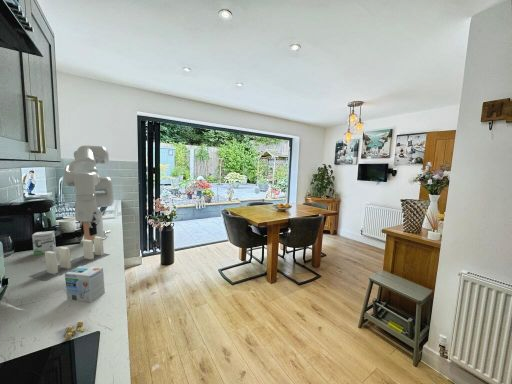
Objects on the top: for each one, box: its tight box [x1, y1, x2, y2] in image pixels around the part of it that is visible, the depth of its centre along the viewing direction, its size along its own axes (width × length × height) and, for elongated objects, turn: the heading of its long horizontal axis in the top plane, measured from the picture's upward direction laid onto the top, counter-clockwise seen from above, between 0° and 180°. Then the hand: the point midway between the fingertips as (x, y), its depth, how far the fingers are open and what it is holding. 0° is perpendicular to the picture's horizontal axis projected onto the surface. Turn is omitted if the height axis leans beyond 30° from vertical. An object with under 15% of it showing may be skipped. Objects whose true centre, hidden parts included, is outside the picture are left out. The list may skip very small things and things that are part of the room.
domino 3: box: [82, 239, 94, 259], centre depth 116 cm, size 2×5×10 cm, turn 72°
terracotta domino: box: [83, 220, 95, 240], centre depth 106 cm, size 2×5×10 cm, turn 72°
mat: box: [27, 251, 111, 282], centre depth 110 cm, size 30×12×1 cm, turn 162°
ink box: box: [31, 230, 57, 256], centre depth 124 cm, size 9×5×12 cm, turn 120°
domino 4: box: [93, 236, 105, 255], centre depth 121 cm, size 2×5×10 cm, turn 72°
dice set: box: [64, 320, 87, 341], centre depth 67 cm, size 5×5×2 cm
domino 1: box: [44, 251, 58, 274], centre depth 101 cm, size 2×5×10 cm, turn 72°
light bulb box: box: [64, 265, 106, 304], centre depth 84 cm, size 11×7×11 cm, turn 82°
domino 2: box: [58, 246, 72, 269], centre depth 106 cm, size 2×5×10 cm, turn 72°
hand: (89, 233), depth 107 cm, fingers closed on terracotta domino, 4 cm apart
